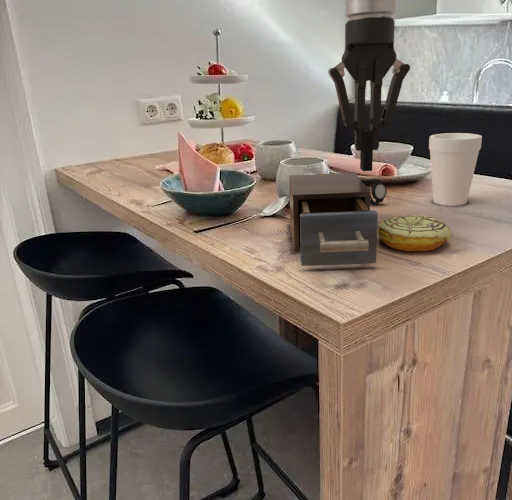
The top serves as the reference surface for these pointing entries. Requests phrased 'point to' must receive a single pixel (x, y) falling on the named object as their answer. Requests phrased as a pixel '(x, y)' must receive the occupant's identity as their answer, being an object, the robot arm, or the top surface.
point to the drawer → (337, 232)
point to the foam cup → (453, 166)
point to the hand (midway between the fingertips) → (366, 169)
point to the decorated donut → (414, 232)
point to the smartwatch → (376, 190)
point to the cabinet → (322, 194)
